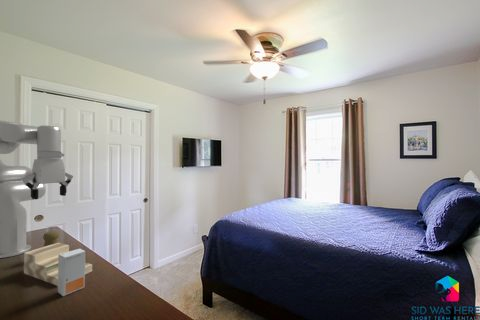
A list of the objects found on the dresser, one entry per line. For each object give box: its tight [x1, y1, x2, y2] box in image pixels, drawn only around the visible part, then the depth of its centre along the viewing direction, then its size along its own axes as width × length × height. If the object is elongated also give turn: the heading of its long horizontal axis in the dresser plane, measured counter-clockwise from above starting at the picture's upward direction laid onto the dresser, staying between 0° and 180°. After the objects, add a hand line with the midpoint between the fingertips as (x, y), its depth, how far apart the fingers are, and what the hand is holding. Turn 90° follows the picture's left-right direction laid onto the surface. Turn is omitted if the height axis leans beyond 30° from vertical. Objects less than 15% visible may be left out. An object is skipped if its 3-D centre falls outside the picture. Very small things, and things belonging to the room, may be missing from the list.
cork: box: [42, 230, 60, 247], centre depth 95 cm, size 6×6×11 cm
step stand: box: [23, 242, 93, 287], centre depth 83 cm, size 21×11×8 cm, turn 67°
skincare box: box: [57, 248, 86, 297], centre depth 71 cm, size 6×4×12 cm
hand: (49, 197), depth 93 cm, fingers open, 9 cm apart
